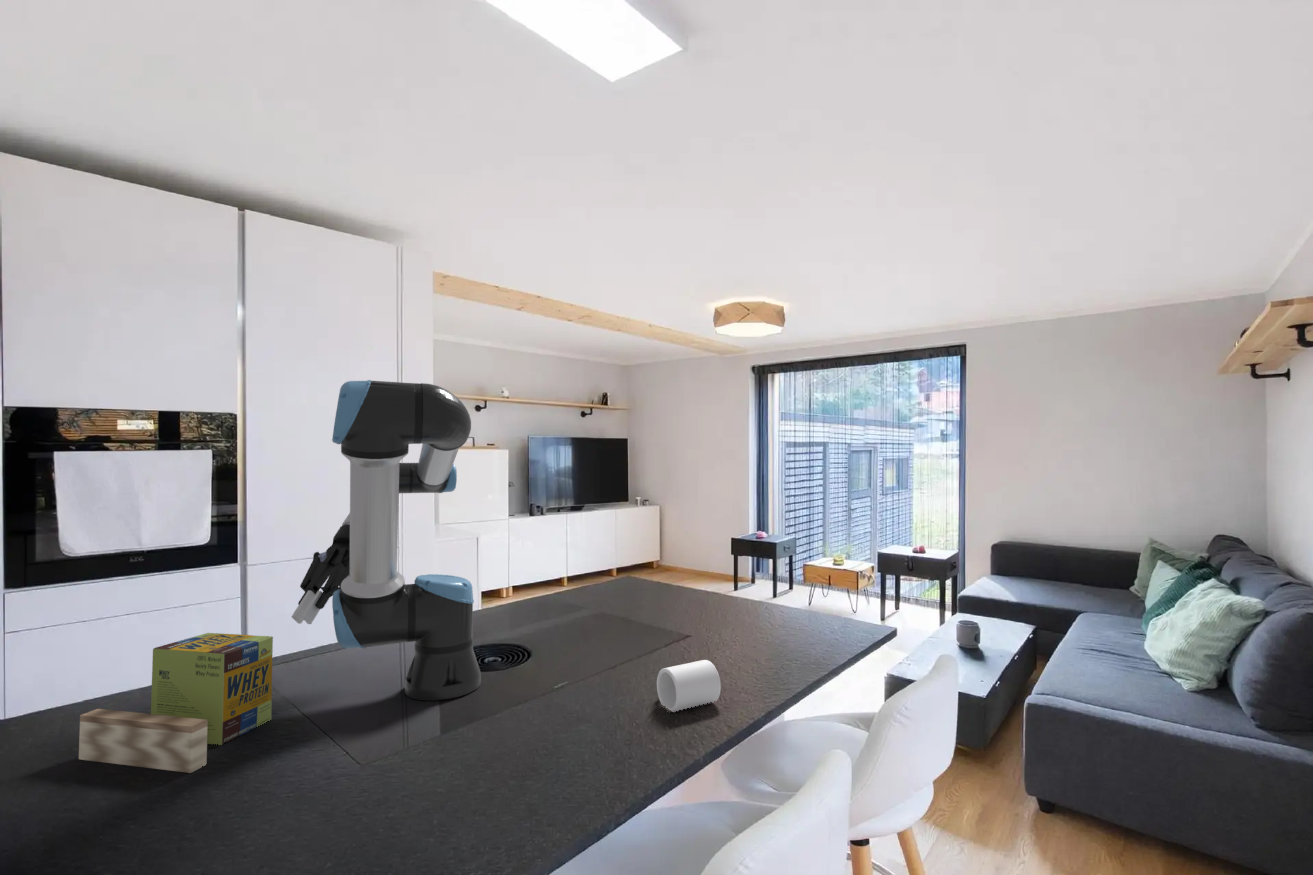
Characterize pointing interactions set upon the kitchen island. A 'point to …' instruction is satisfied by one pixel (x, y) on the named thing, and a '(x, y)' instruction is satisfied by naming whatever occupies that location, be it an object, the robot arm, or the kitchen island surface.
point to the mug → (688, 685)
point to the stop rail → (143, 740)
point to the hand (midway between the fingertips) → (301, 620)
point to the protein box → (215, 682)
